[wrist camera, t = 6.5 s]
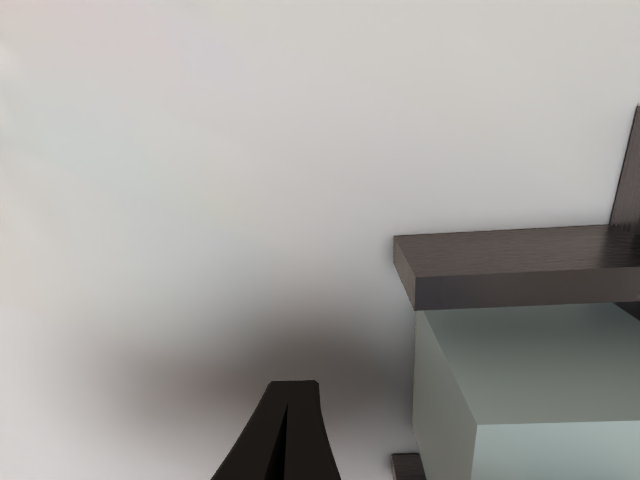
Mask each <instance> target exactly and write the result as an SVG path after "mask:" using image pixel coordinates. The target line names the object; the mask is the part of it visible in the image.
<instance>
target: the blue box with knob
mask: <svg viewBox="0 0 640 480" xmlns="http://www.w3.org/2000/svg"><path fill="white" fill-rule="evenodd" d="M412 426H413V430H414V434H415V438H416V441H417V445H418V449H419V453H420V456H421V460H422V464H423V468H424V471H425V475H426V479H427V480H640V321H639V320H637V319H636V318H634V317H633V316H631V315H630V314H629V313H627V312H626V311H624V310H623V309H621V308H620V307H618V306H617V305H615V304H614V303H612V302H609V303H586V304H563V305H540V306H517V307H494V308H470V309H447V310H424V311H416V334H415V361H414V389H413V417H412Z"/></svg>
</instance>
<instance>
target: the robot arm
mask: <svg viewBox="0 0 640 480" xmlns="http://www.w3.org/2000/svg"><path fill="white" fill-rule="evenodd" d="M211 480H341V477H340V475H339V472H338V469H337V466H336V463H335V460H334V457H333V454H332V451H331V447H330V444H329V441H328V437H327V434H326V430H325V426H324V422H323V417H322V413H321V408H320V394H319V383H317V382H316V381H315V380H305V381H272V382H271V383H269V384H268V386H267V388H266V390H265V392H264V394H263V396H262V398H261V400H260V402H259V404H258V406H257V407H256V409H255V411H254V413H253V414H252V416H251V418H250V420H249V421H248V423H247V425H246V426H245V428H244V430H243V431H242V433H241V435H240V436H239V438H238V439H237V441H236V443H235V444H234V446H233V447H232V449H231V451H230V452H229V454H228V455H227V457H226V458H225V460H224V461H223V463H222V464H221V465H220V467H219V468H218V470H217V471H216V473H215V474H214V476H213V477H212V479H211Z"/></svg>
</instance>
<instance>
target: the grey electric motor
mask: <svg viewBox="0 0 640 480" xmlns="http://www.w3.org/2000/svg"><path fill="white" fill-rule="evenodd" d="M394 265H395V267H396V270H397V272H398V274H399V277H400V279H401V281H402V283H403V286H404V288H405V290H406V293H407V295H408V297H409V300H410V302H411V304H412V307H413V309H414V311H424V310H447V309H470V308H494V307H517V306H540V305H563V304H586V303H609V302H612V303H614V304H615V305H617V306H618V307H620V308H621V309H623V310H624V311H626V312H627V313H629V314H630V315H631V316H633V317H634V318H636V319H637V320H639V321H640V106H638V108H637V112H636V116H635V120H634V124H633V129H632V133H631V137H630V141H629V146H628V150H627V154H626V158H625V162H624V167H623V171H622V175H621V179H620V183H619V188H618V192H617V196H616V200H615V205H614V209H613V213H612V217H611V221H610V225H595V226H576V227H557V228H539V229H520V230H501V231H482V232H463V233H444V234H425V235H406V236H394ZM392 476H393V480H427V479H426V475H425V471H424V468H423V464H422V460H421V456H420V454H404V455H392Z"/></svg>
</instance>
